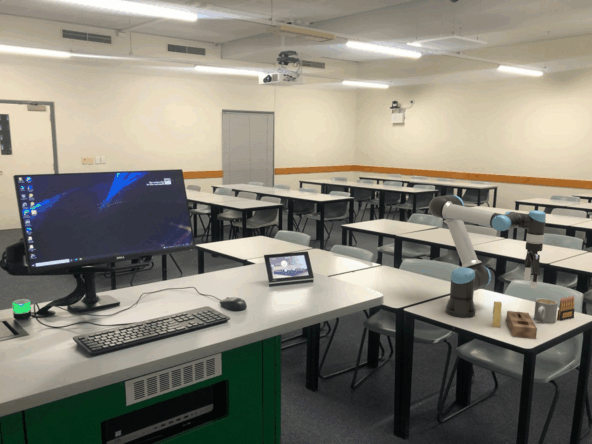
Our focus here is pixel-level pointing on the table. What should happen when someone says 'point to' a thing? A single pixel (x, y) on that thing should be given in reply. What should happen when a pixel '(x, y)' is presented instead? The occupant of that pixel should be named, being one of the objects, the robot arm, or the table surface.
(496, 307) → the brass square peg
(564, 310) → the ammunition clip
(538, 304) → the coffee mug
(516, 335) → the walnut bore block
